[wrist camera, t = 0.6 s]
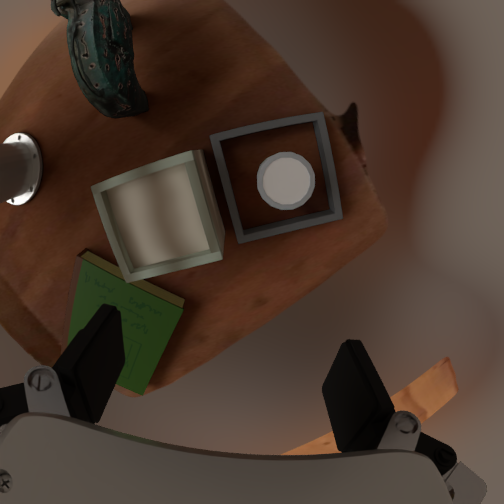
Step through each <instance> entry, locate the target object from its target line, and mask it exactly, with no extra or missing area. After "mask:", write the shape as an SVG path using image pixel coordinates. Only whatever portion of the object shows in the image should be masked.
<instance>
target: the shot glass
mask: <svg viewBox="0 0 504 504" xmlns="http://www.w3.org/2000/svg"><path fill="white" fill-rule="evenodd" d="M314 187H315V174H314V172H313V169H312V167H311V165H310V163H309V162H308V161H307V160H305V159H304V158H303V157H302V156H300V155H298V154H295V153H293V152H279V153H277V154H275V155H272V156H270V157H268V158H266V159H265V160H264V161H263V162H262V163H261V164H260V167H259V170H258V172H257V188H258V190H259V192H260V195H261V197H262V199H263V200H265V201H266V202H267V203H268V204H269V205H270V206H272V207H275V208H278V209H280V210H290V209H295V208H297V207H299V206H301V205H303V204H304V203H305V202H306V201H307V200H308V199H309V198H310V197H311V195H312V192H313V190H314Z"/></svg>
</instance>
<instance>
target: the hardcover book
mask: <svg viewBox="0 0 504 504" xmlns="http://www.w3.org/2000/svg"><path fill="white" fill-rule="evenodd" d="M184 300H185V299H183V298H181V297H179V296H177V295H174V294H172V293H170V292H168V291H166V290H164V289H162V288H160V287H158V286H155V285H153V284H151V283H149V282H147V281H145V280H143V279H142V280H137V281H133V282H129V283H126V281H125V279H124V277H123V274H122V272H121V270H120V268H119V267H117V266H116V265H114V264H112V263H110V262H108V261H106V260H104V259H102V258H100V257H99V256H97V255H95V254H93V253H91V252H89V251H88V249H87V248H85V249H84V250H83V251H82V252H80V253H79V254H78V255H77V256H76V261H75V265H74V270H73V274H72V279H71V284H70V290H69V295H68V301H67V308H66V314H65V322H64V330H63V339H62V349H61V355H62V353H63V352H64V350H65V349H66V348H67V346H68V345H69V344H70V342H71V341H72V339H73V338H74V337H75V335H76V334H77V333H78V331H79V330H81V329H84V327H85V326H86V325H87V323H88V322H89V321H90V319H91V318H92V317H93V315H94V314H95V313H96V312H97V310H98V309H99V308H100V306H101V305H102V304H104V303H105V304H109V305H113V306H116V307H117V310H120V312H121V321H122V332H123V342H124V351H125V364H124V367H123V369H122V371H121V373H120V376H119V378H118V380H117V382H116V384H117V385H120V386H122V387H124V388H126V389H128V390H131V391H133V392H135V393H138V394H140V395H143V394H144V392H145V389H146V387H147V385H148V383H149V381H150V379H151V377H152V374H153V372H154V370H155V368H156V366H157V364H158V362H159V360H160V357H161V355H162V353H163V351H164V349H165V347H166V345H167V343H168V341H169V339H170V337H171V335H172V333H173V331H174V329H175V327H176V324H177V322H178V320H179V318H180V316H181V314H182V312H183V310H184V308H183V304H184Z"/></svg>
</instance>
